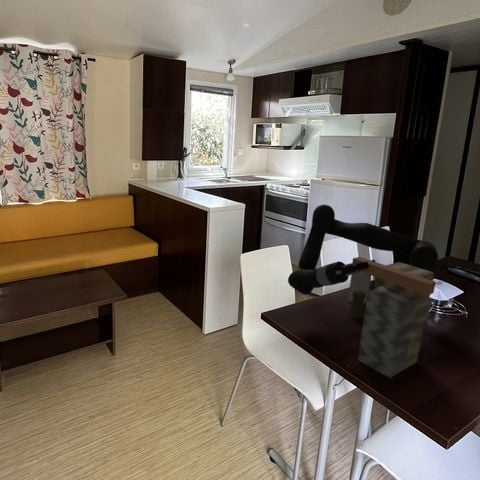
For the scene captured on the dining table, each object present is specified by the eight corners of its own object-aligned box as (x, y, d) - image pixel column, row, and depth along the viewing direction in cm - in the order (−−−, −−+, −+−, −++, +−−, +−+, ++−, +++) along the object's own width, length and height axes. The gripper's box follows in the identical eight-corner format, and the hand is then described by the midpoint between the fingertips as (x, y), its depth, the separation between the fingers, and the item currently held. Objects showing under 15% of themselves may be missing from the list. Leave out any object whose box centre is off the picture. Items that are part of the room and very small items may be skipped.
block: (351, 268, 128) (352, 258, 127) (357, 266, 130) (359, 256, 129) (427, 295, 108) (429, 284, 107) (433, 293, 110) (435, 281, 109)
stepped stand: (357, 360, 128) (370, 270, 119) (384, 346, 137) (398, 261, 129) (390, 378, 119) (406, 282, 110) (416, 362, 128) (433, 272, 120)
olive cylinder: (364, 319, 158) (367, 294, 155) (349, 317, 159) (352, 292, 156) (362, 312, 163) (366, 288, 160) (348, 311, 164) (351, 287, 162)
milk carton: (363, 305, 171) (369, 265, 166) (347, 301, 174) (352, 262, 169) (367, 300, 176) (373, 261, 171) (352, 296, 180) (357, 258, 175)
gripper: (315, 267, 133) (354, 255, 120) (341, 261, 142) (380, 249, 128) (322, 288, 132) (362, 278, 119) (347, 280, 141) (387, 271, 127)
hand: (371, 263), depth 124 cm, fingers closed on block, 3 cm apart
